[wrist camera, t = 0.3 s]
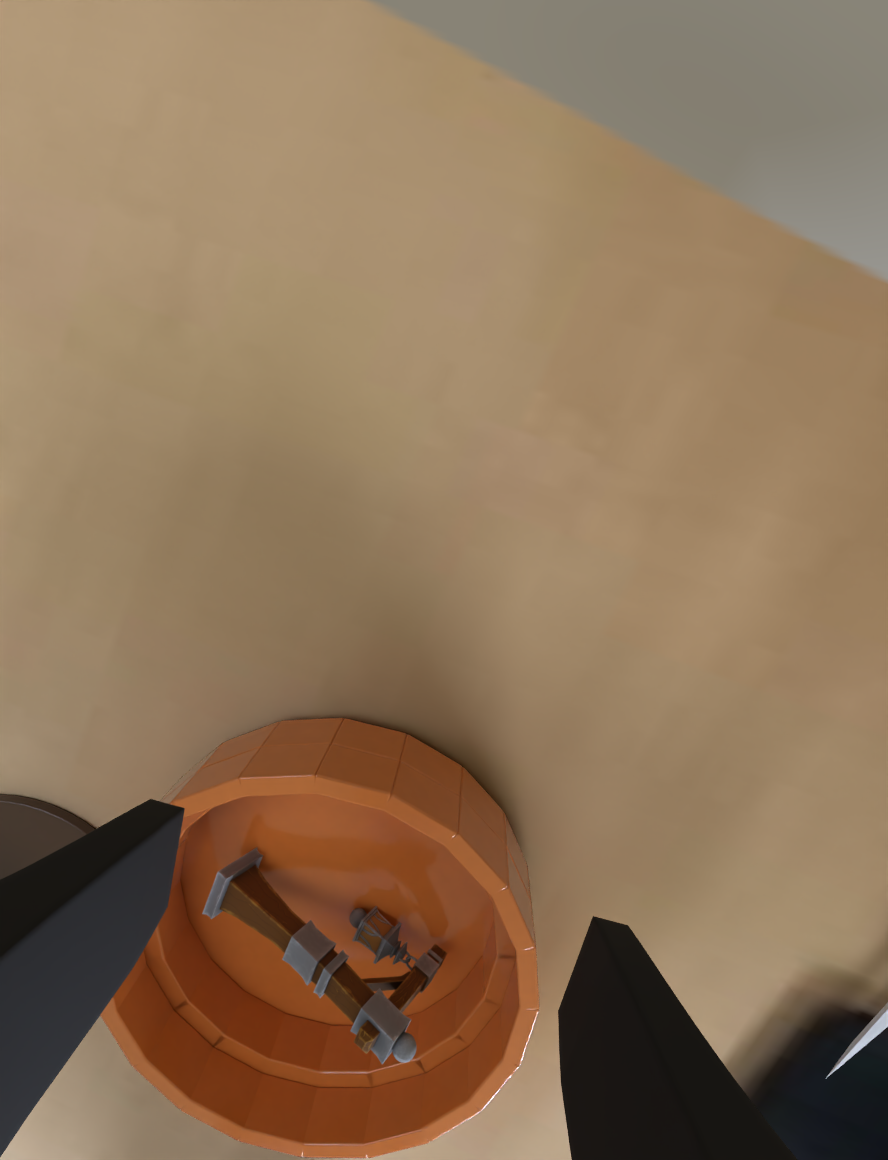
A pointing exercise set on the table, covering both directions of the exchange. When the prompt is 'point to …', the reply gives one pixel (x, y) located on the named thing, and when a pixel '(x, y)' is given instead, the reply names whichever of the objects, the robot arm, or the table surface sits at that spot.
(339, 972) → the wooden post with brackets
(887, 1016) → the scissors
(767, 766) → the table surface
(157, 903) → the robot arm
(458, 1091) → the bowl
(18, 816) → the coaster
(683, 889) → the table surface
